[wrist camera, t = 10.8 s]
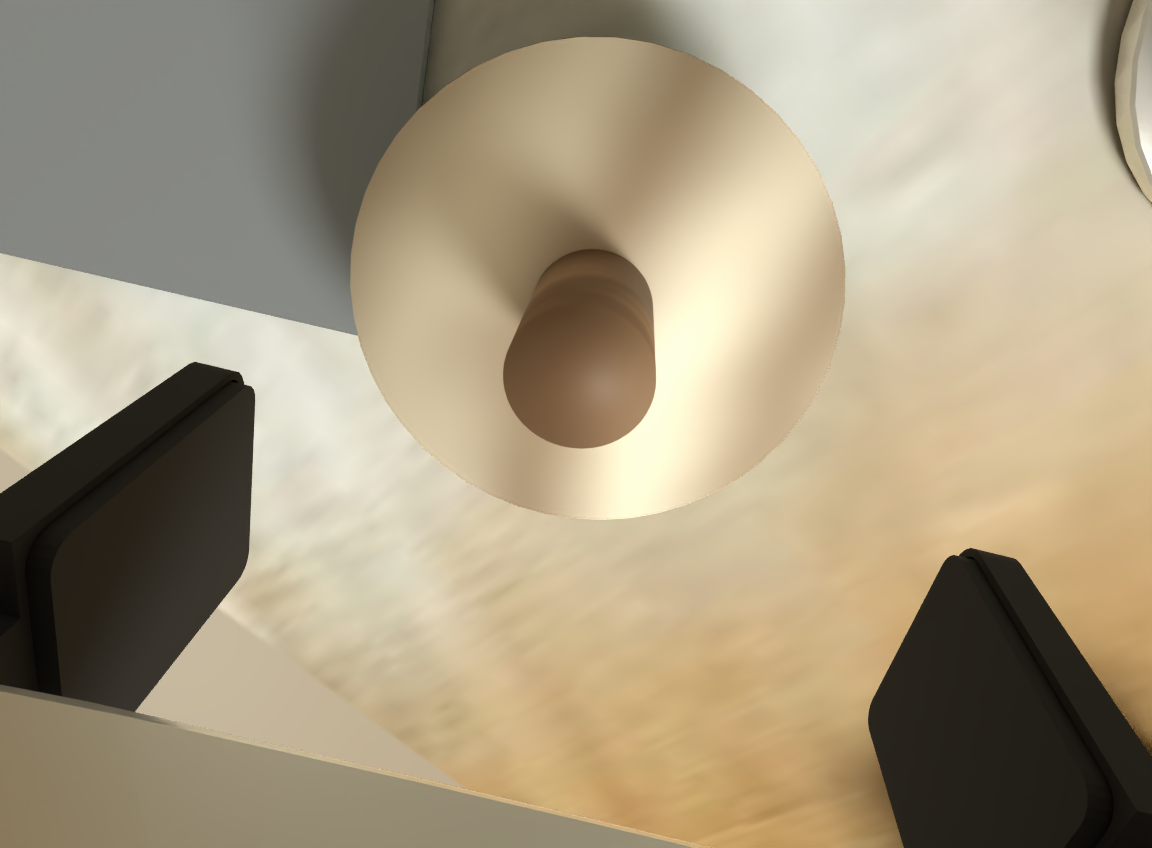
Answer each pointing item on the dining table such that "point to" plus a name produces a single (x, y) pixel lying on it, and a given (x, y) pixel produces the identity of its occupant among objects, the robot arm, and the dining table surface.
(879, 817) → the dining table surface
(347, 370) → the dining table surface
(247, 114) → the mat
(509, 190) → the lid
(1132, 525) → the dining table surface
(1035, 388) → the dining table surface
